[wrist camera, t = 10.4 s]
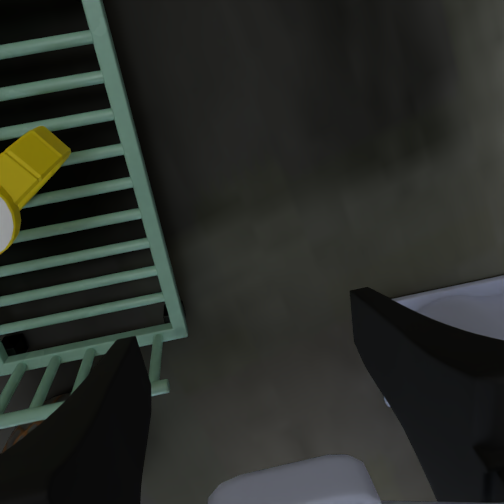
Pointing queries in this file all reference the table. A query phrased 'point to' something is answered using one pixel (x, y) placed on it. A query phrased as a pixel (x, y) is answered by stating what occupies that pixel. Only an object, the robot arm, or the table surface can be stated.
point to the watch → (26, 176)
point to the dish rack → (15, 347)
